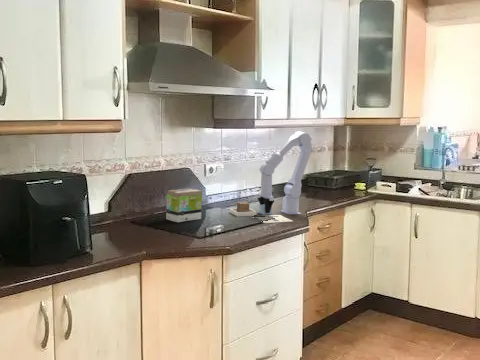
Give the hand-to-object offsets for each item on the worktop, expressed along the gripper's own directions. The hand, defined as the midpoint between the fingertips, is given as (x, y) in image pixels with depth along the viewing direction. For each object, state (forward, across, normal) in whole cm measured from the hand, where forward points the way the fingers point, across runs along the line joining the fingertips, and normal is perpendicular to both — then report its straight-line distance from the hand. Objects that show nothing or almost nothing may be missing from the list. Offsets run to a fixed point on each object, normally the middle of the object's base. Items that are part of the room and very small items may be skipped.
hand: (265, 211), depth 300 cm
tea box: (+2, +1, -45) cm, 45 cm away
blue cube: (+1, 0, 0) cm, 1 cm away
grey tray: (+1, -2, -12) cm, 12 cm away
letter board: (+1, +13, -2) cm, 13 cm away
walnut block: (+1, -2, -12) cm, 12 cm away
